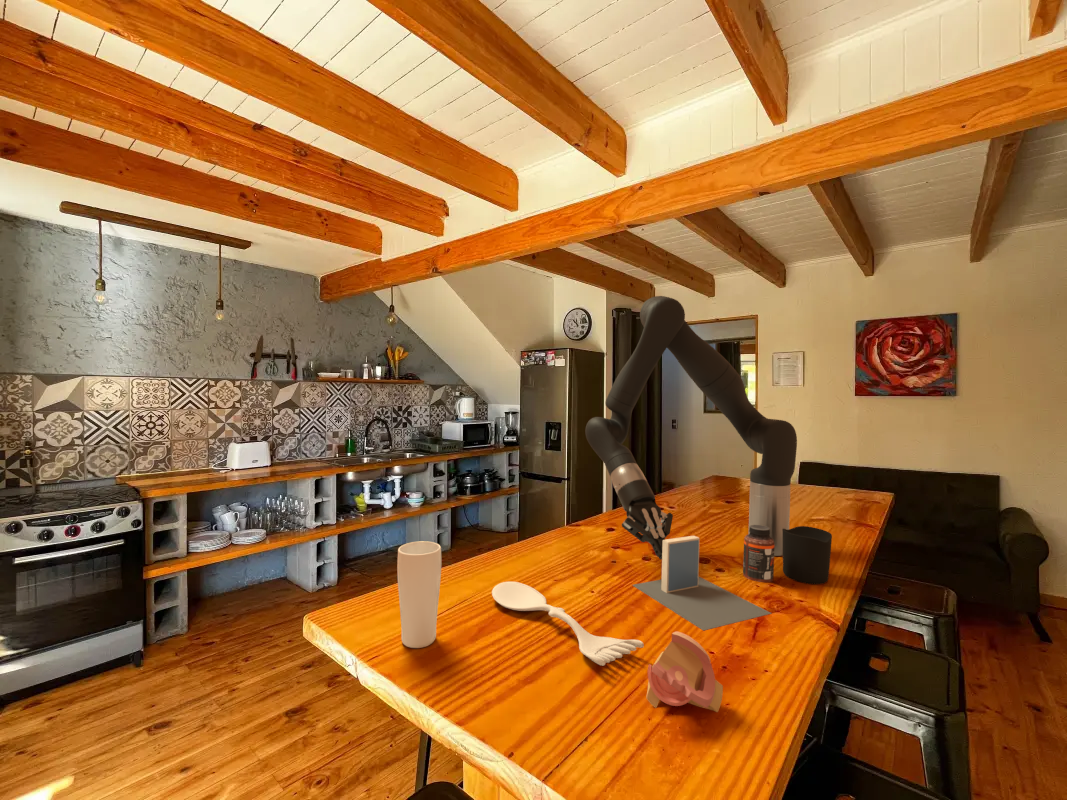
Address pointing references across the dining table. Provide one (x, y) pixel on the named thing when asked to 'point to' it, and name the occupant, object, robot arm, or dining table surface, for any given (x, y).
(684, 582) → the tile
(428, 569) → the drinking glass
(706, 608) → the mat
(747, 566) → the supplement bottle
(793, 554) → the pen holder
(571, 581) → the dining table surface
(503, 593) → the spoon
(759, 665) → the dining table surface
